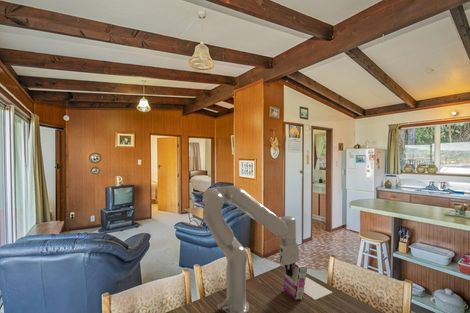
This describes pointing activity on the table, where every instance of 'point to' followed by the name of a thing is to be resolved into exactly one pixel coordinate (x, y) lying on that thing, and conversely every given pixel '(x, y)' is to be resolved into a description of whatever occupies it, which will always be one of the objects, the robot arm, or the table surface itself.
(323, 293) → the white mat
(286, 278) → the candy bar box
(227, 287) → the robot arm
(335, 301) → the table surface
